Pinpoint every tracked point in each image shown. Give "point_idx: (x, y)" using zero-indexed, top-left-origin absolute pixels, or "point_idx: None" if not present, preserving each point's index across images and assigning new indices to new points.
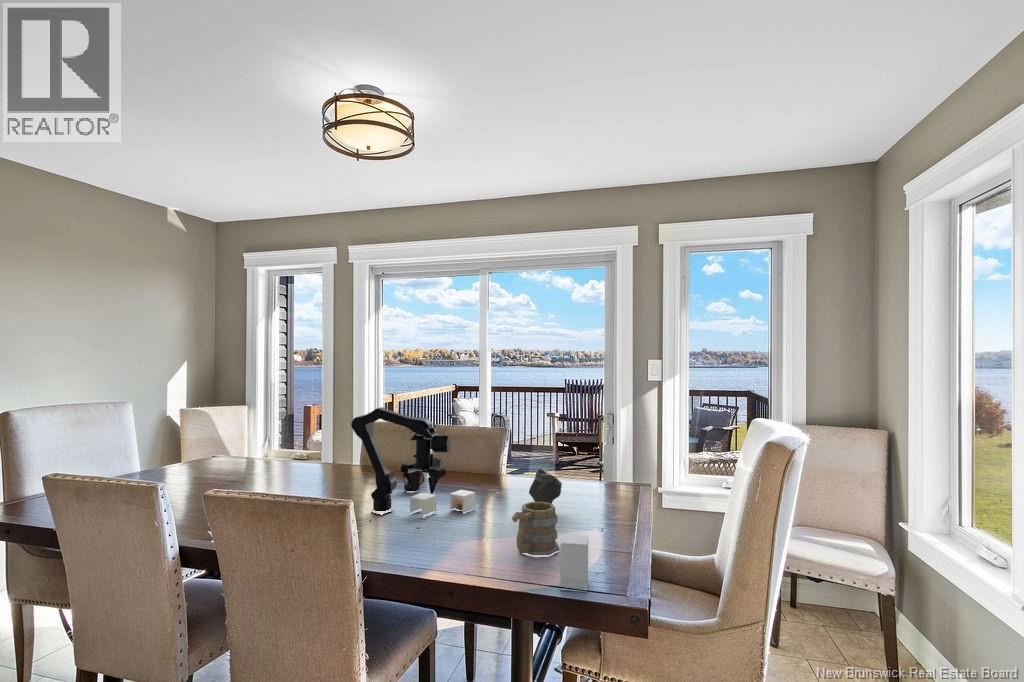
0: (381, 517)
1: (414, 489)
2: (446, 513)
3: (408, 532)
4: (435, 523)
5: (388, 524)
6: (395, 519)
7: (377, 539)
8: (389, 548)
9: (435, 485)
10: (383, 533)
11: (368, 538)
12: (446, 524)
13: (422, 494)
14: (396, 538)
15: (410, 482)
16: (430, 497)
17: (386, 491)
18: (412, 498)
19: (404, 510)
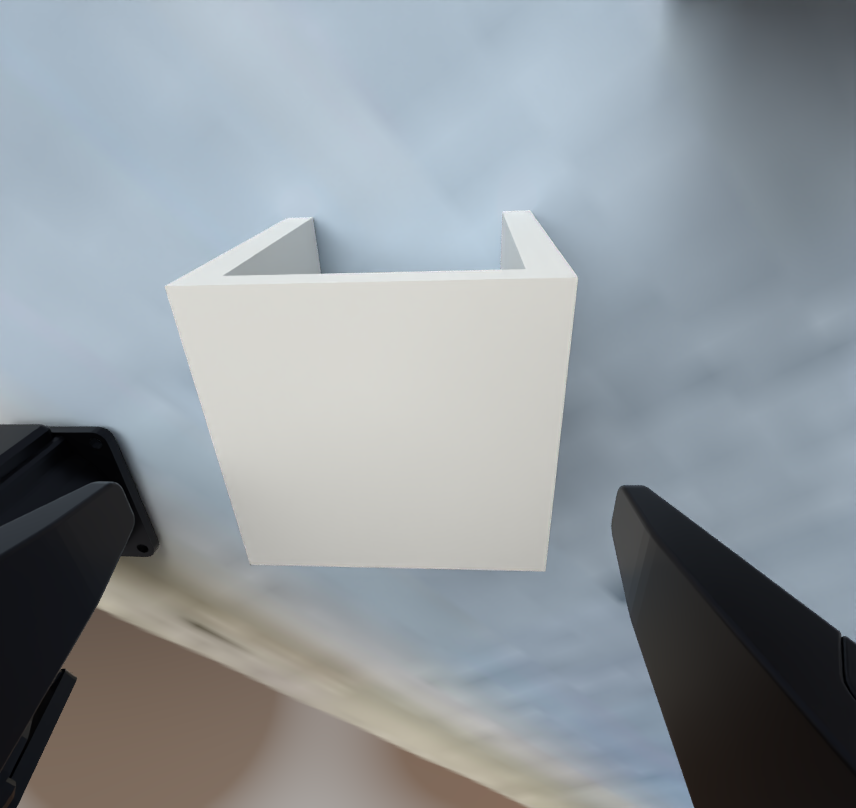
0: (193, 563)
1: (117, 510)
2: (663, 115)
3: (620, 665)
4: (718, 464)
5: (375, 628)
6: None
7: (524, 768)
8: (670, 804)
9: (827, 654)
10: (483, 719)
11: (470, 774)
12: (851, 434)
13: (277, 376)
14: (614, 736)
15: (3, 746)
16: (554, 438)
17: (26, 780)
18: (306, 554)
19: (140, 339)
